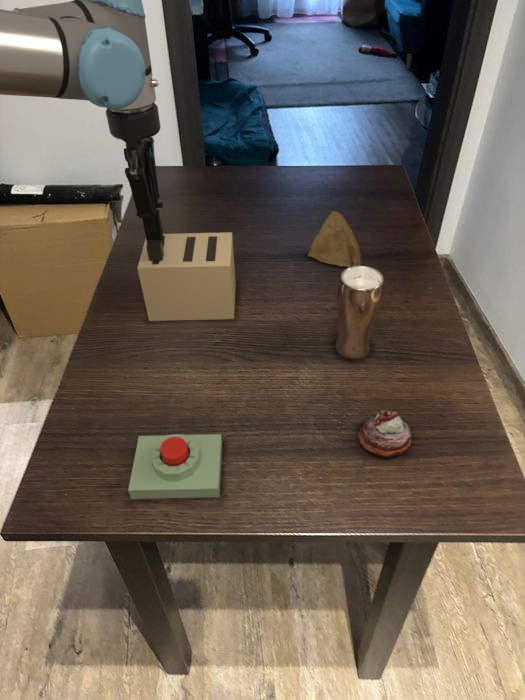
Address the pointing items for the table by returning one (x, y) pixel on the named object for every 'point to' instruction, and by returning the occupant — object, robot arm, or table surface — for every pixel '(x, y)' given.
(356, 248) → the rock
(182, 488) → the control block
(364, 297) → the beer glass
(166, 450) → the red button
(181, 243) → the toaster
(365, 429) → the pastry
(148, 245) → the button
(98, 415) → the table surface
